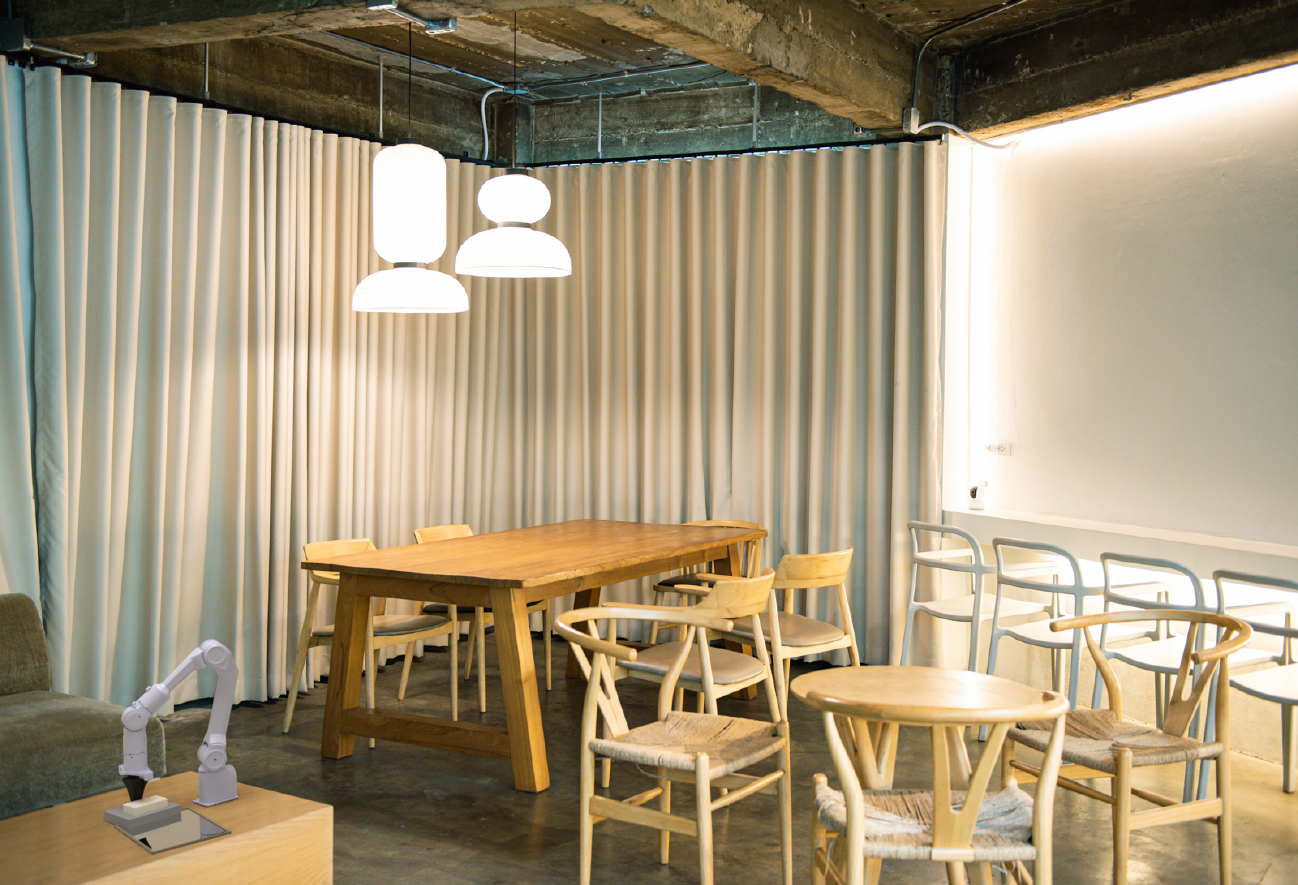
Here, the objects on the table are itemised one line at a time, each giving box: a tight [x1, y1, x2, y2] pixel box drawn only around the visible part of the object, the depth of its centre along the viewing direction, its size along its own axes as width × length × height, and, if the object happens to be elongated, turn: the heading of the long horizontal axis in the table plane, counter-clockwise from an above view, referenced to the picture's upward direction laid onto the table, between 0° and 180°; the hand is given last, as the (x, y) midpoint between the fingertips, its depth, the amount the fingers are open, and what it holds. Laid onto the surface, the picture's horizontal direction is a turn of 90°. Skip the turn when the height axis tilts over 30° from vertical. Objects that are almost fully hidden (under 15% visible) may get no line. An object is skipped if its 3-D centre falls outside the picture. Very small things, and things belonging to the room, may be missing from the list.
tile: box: [122, 794, 169, 816], centre depth 281 cm, size 9×6×2 cm, turn 143°
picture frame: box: [114, 806, 232, 855], centre depth 271 cm, size 19×1×28 cm
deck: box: [103, 800, 182, 829], centre depth 282 cm, size 14×13×2 cm
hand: (136, 802), depth 284 cm, fingers closed
